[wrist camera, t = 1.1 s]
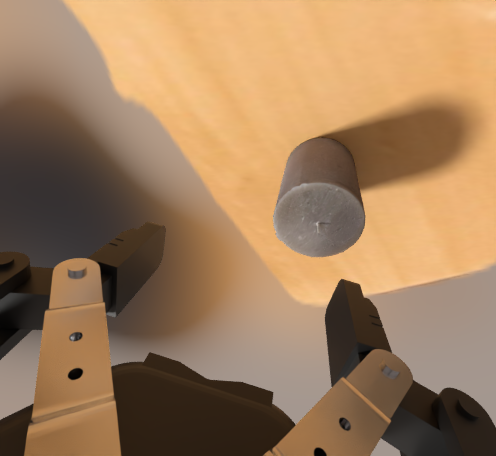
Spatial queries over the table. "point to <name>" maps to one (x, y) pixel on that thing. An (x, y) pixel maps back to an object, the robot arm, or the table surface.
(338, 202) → the pillar candle
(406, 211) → the table surface
